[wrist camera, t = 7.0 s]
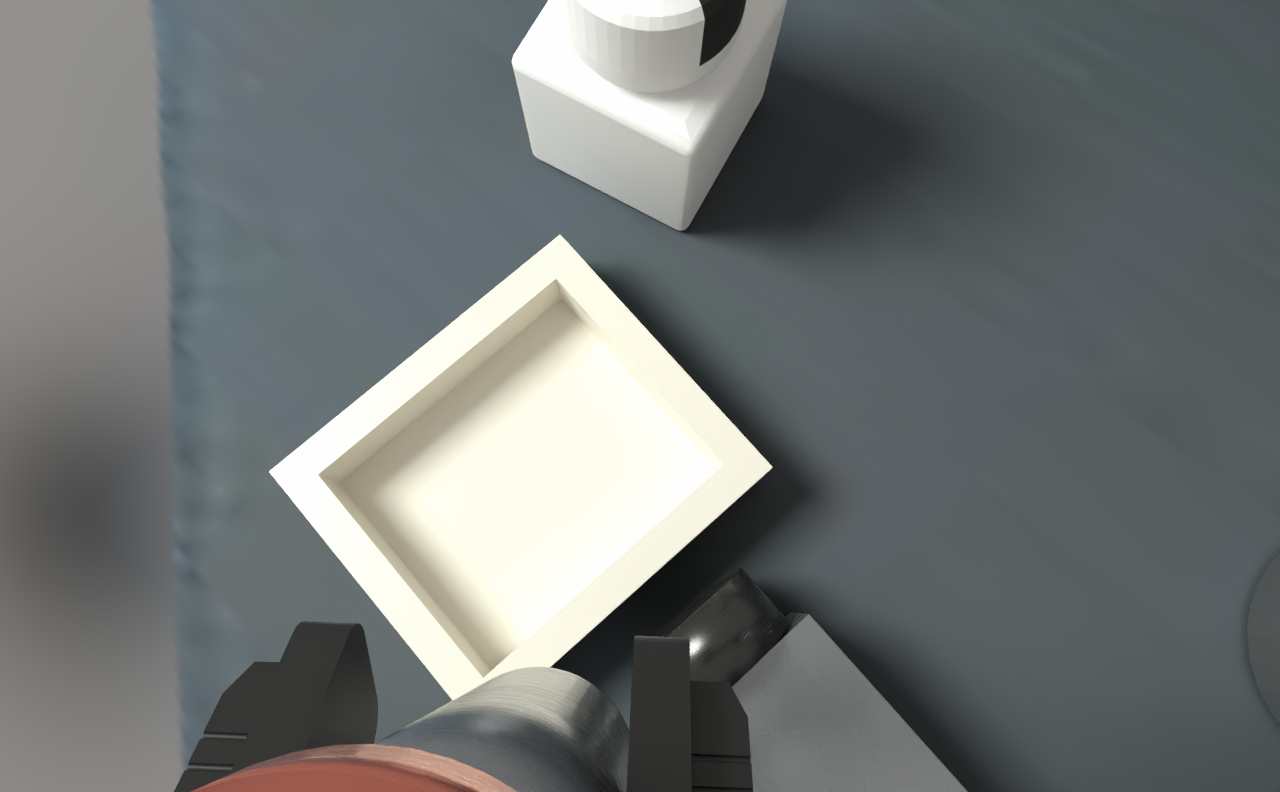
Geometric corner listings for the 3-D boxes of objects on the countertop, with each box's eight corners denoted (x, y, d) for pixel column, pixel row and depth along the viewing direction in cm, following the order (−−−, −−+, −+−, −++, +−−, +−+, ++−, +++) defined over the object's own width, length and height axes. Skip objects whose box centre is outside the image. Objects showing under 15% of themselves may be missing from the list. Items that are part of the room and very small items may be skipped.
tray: (566, 262, 38) (559, 234, 35) (761, 477, 36) (772, 467, 33) (299, 481, 36) (269, 471, 33) (491, 720, 34) (478, 731, 31)
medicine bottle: (614, 19, 40) (605, -222, 28) (765, 94, 39) (821, -122, 27) (529, 157, 39) (483, -36, 27) (684, 237, 38) (706, 74, 26)
